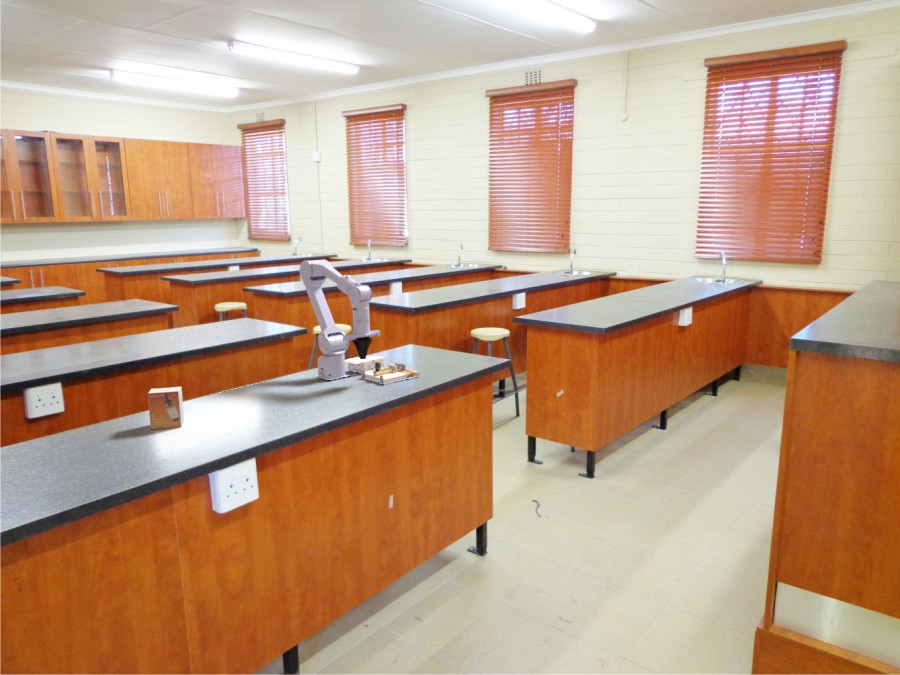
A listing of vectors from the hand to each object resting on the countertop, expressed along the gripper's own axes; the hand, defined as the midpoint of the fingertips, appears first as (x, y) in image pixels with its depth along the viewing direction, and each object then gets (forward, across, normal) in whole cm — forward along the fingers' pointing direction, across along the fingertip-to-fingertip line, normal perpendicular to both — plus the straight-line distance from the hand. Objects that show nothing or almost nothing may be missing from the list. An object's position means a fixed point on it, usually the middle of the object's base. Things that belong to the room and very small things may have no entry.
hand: (362, 358), depth 211 cm
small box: (+9, -66, +1) cm, 67 cm away
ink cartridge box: (+7, +18, +17) cm, 26 cm away
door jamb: (+9, +17, 0) cm, 20 cm away
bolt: (+7, +9, 0) cm, 11 cm away
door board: (+9, +9, 0) cm, 13 cm away
